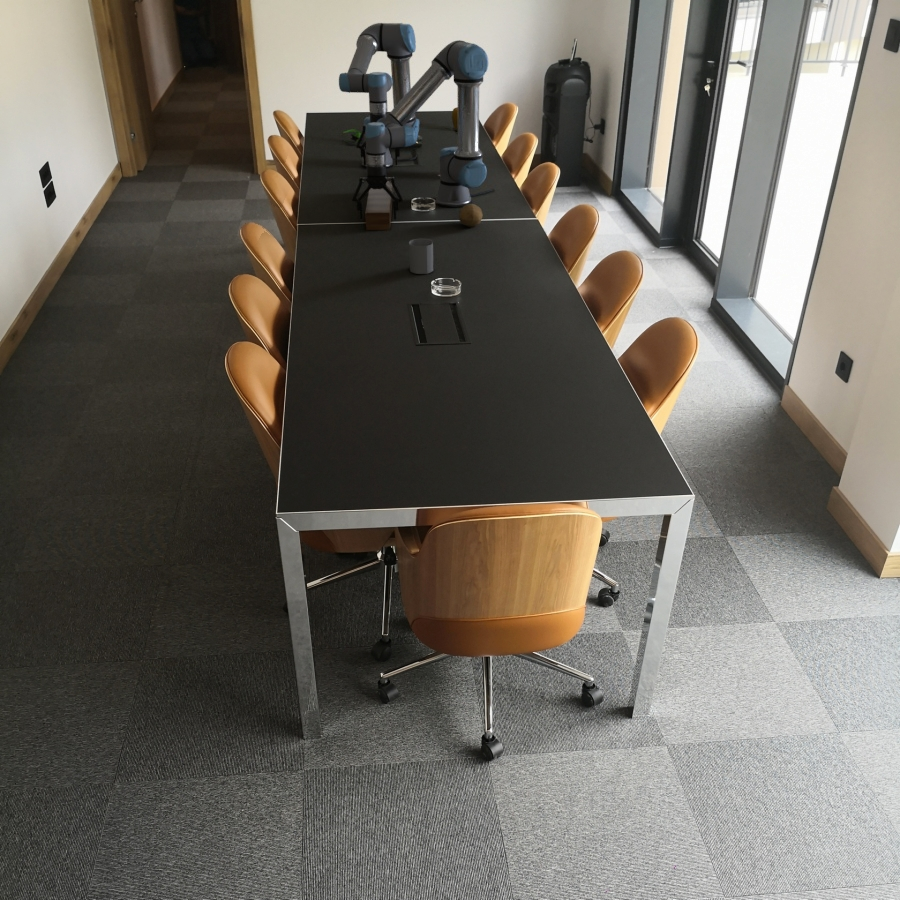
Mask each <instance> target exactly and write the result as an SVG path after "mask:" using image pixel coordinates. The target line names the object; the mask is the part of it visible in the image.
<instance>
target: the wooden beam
mask: <svg viewBox="0 0 900 900" xmlns="http://www.w3.org/2000/svg"><path fill="white" fill-rule="evenodd" d="M391 177H392V176H387V178H391ZM386 185H387V186H388V188H389V189H390V190H391V191H392V192H393V193H394V188H393V186H392V183H390V182H389V181H387V183H386ZM393 204H394V200H393V199H392V198H391V196H390V195H389V194H388V193H387V192H386V191H385V190H384V189H383V188H382V189H372V188H371V189H370V190H369V191H368V196H367V201H366V207H365V213H364V214H365V215H364V217H365V230H366V231H390V230H391V223H392V213H393V212H392V211H393Z"/></svg>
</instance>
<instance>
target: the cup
mask: <svg viewBox="0 0 900 900" xmlns="http://www.w3.org/2000/svg"><path fill="white" fill-rule="evenodd" d="M408 253H409V272H411V273H412V274H416V275H426V274H430V273H432V272H434V241H433V240H431V239H428V238H422V237H421V238H420V237H419V238H414V239H411V240H410V241H409V242H408Z"/></svg>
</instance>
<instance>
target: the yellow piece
mask: <svg viewBox="0 0 900 900" xmlns="http://www.w3.org/2000/svg"><path fill="white" fill-rule="evenodd" d="M451 121H452V125H453V128H454V129H455V131H457V132H458V106H457V107H454V108H452V111H451Z"/></svg>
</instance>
